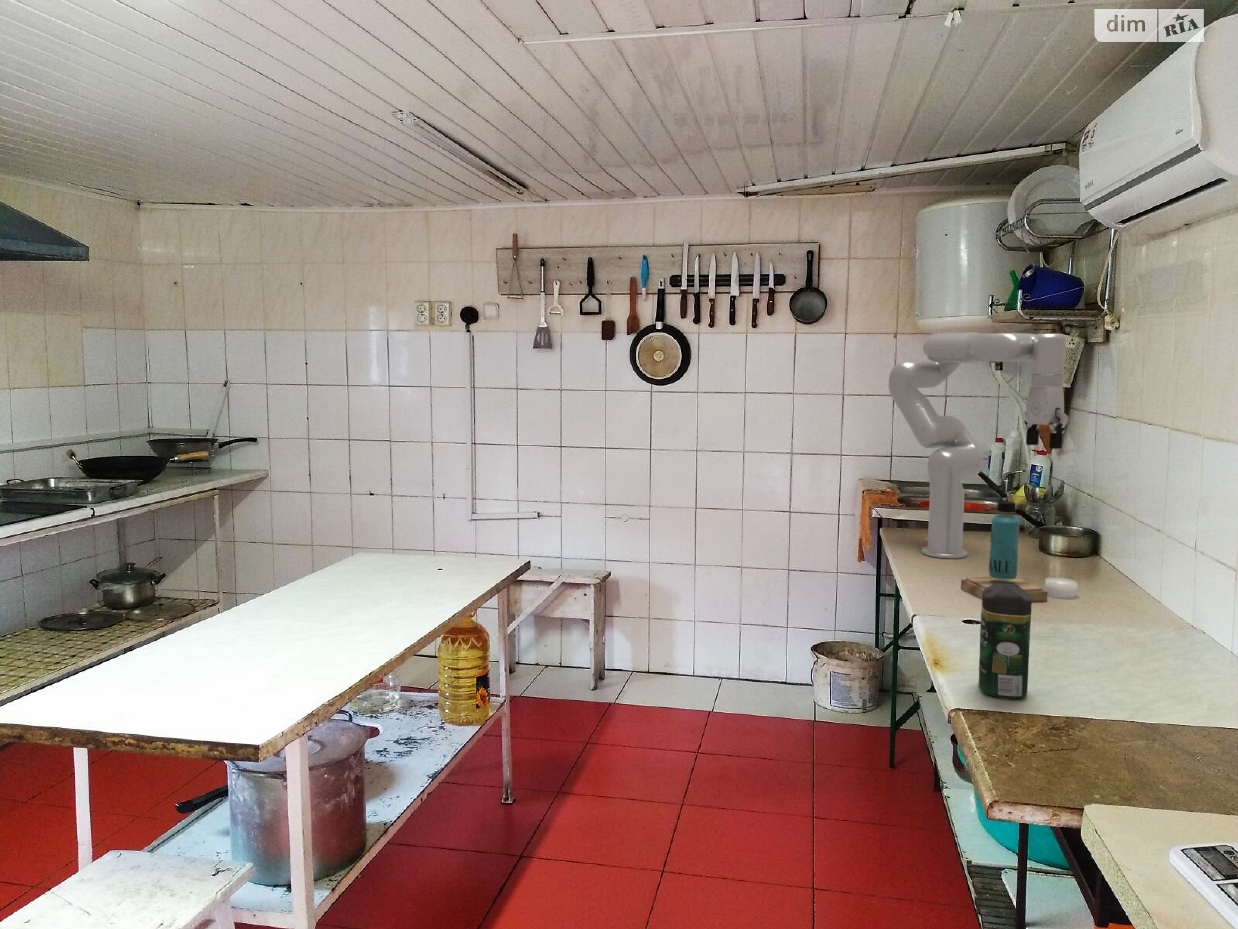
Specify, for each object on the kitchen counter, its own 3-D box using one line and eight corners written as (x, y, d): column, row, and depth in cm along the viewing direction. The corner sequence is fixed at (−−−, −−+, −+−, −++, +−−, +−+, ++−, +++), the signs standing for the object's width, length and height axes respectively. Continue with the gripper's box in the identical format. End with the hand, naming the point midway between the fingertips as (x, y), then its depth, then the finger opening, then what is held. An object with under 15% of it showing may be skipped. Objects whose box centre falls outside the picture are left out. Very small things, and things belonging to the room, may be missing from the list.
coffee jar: (976, 678, 160) (981, 578, 158) (1024, 683, 158) (1029, 582, 155) (978, 697, 151) (984, 591, 149) (1029, 703, 149) (1035, 596, 146)
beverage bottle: (1011, 579, 219) (1016, 499, 217) (1020, 586, 212) (1025, 504, 210) (984, 578, 220) (988, 499, 217) (992, 585, 213) (997, 503, 211)
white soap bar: (1040, 591, 220) (1041, 576, 219) (1069, 592, 219) (1070, 578, 219) (1050, 598, 213) (1051, 583, 212) (1081, 599, 212) (1082, 585, 212)
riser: (960, 588, 222) (961, 577, 221) (1012, 586, 224) (1012, 575, 223) (992, 604, 208) (993, 591, 208) (1047, 601, 210) (1047, 589, 210)
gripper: (1014, 380, 238) (1011, 443, 240) (1055, 382, 221) (1051, 450, 223) (1039, 380, 239) (1036, 443, 242) (1082, 382, 223) (1078, 449, 225)
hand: (1043, 446), depth 233 cm, fingers open, 9 cm apart
